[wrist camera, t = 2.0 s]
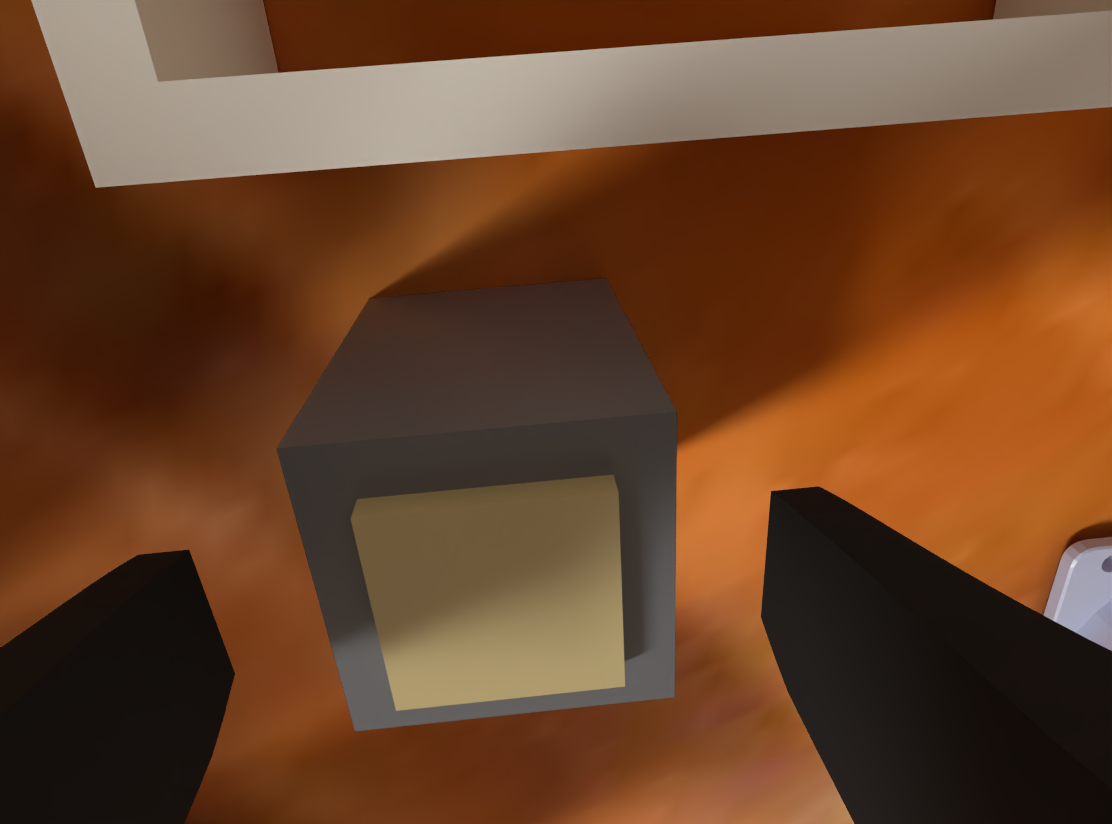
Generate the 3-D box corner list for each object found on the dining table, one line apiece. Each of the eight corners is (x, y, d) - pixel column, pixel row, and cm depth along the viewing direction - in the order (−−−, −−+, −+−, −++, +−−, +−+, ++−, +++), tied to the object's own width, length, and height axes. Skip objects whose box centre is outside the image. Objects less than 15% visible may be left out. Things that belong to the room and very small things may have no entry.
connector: (605, 277, 13) (685, 427, 7) (612, 478, 15) (680, 720, 9) (369, 297, 13) (265, 466, 7) (407, 498, 15) (349, 756, 9)
